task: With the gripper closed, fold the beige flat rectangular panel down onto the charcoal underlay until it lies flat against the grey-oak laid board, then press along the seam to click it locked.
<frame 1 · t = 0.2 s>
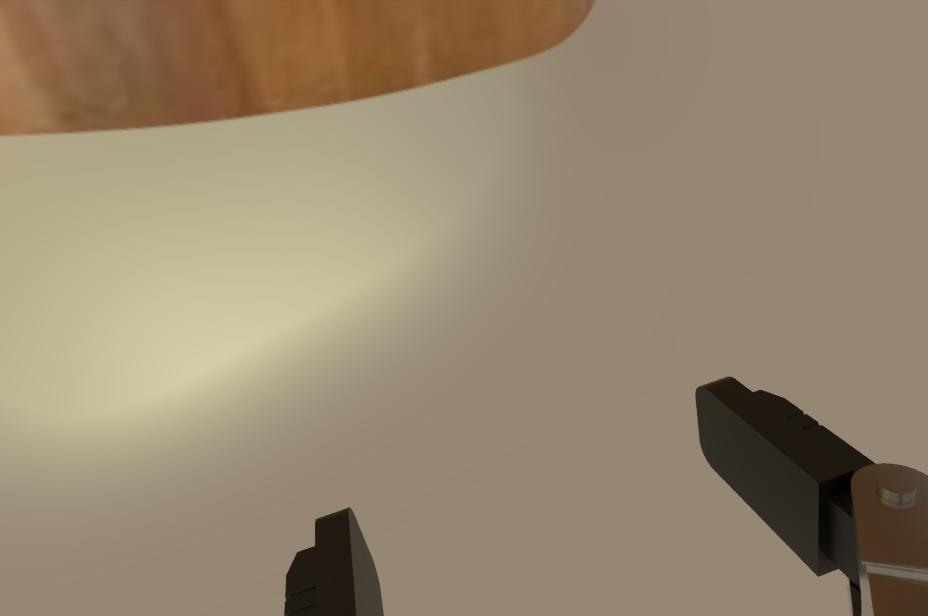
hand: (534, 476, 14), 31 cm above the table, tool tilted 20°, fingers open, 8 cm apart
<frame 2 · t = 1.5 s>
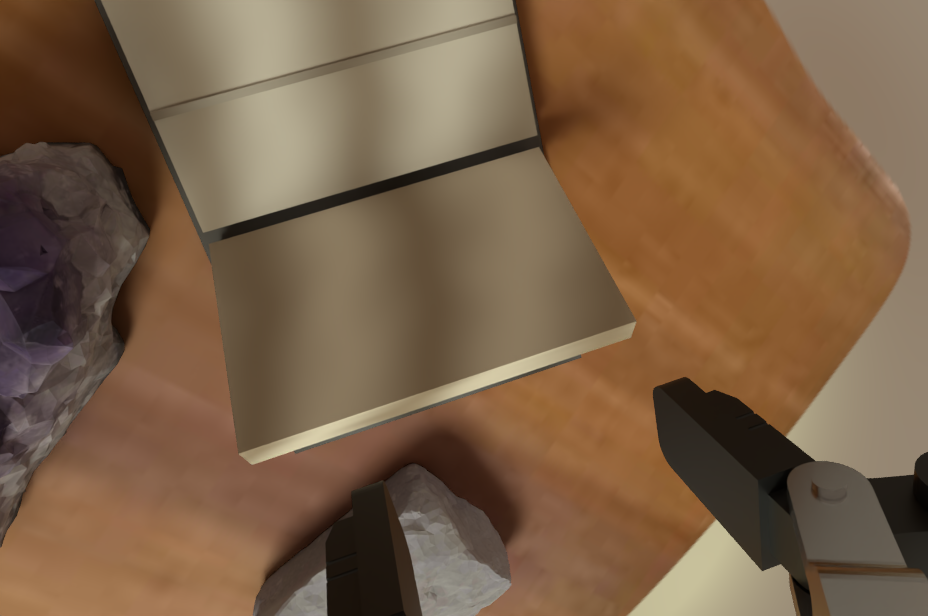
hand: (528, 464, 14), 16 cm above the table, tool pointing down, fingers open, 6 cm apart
beige flat rectangular panel: (409, 285, 24), point 5 cm above the table, hinge at 55.0°
stone block: (391, 561, 35), on the table
laid floor: (338, 65, 24), on the table
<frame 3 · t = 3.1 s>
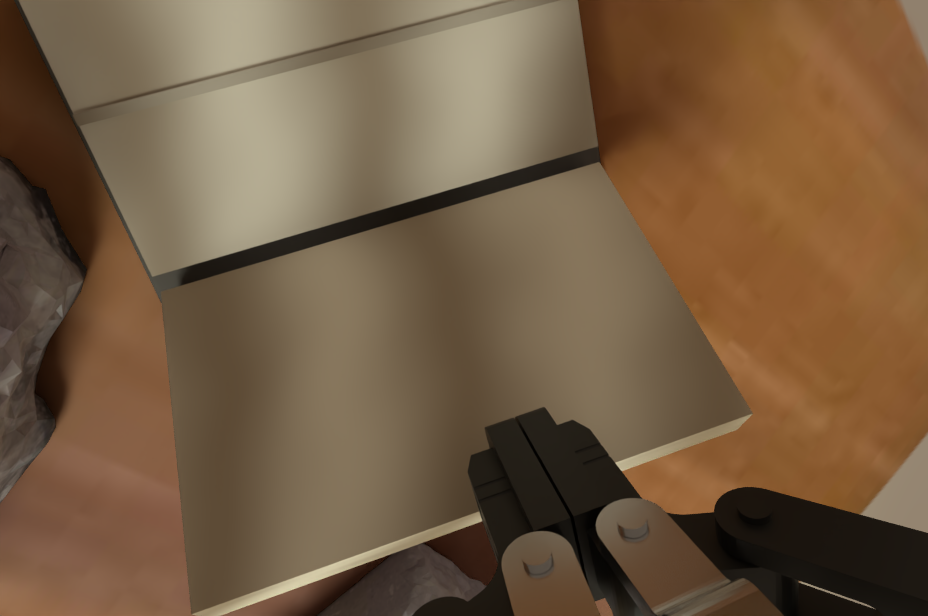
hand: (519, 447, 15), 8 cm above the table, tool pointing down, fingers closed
beige flat rectangular panel: (432, 352, 17), point 5 cm above the table, hinge at 54.1°, touching gripper
laid floor: (336, 52, 18), on the table
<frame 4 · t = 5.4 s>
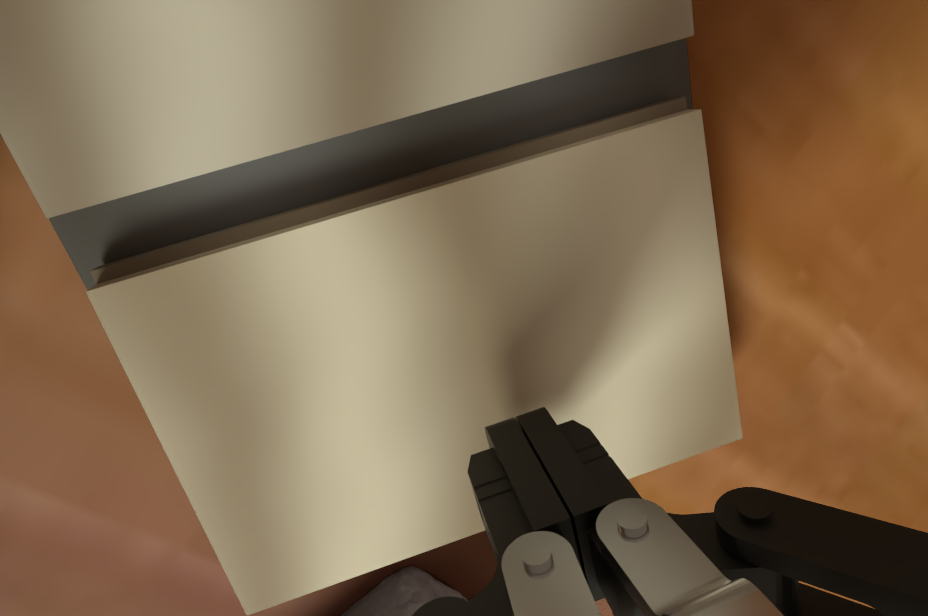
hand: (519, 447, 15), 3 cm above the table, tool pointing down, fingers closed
beige flat rectangular panel: (456, 361, 15), point 1 cm above the table, hinge at 4.8°
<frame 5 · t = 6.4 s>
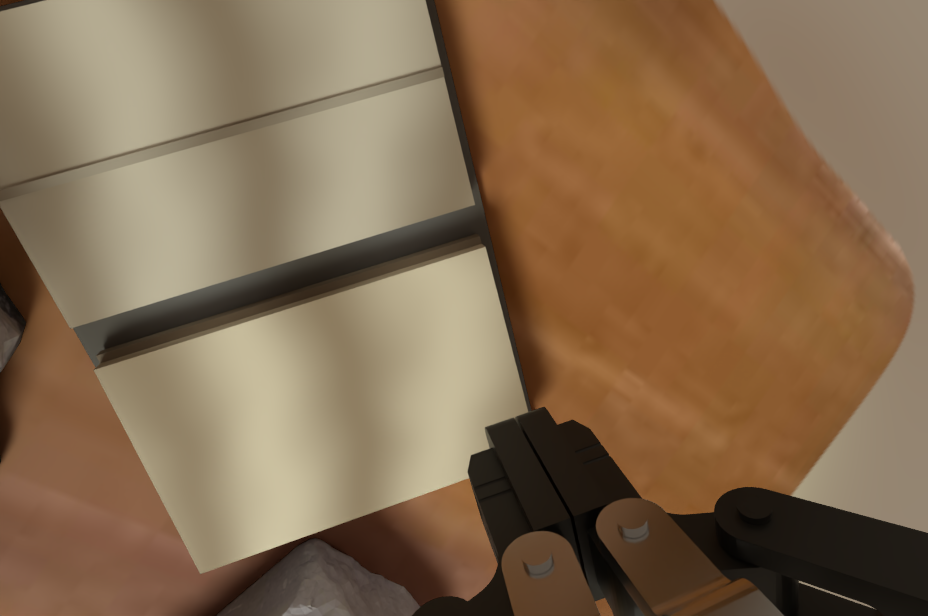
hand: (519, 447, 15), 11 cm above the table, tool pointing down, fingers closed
beige flat rectangular panel: (336, 405, 24), point 1 cm above the table, hinge at 4.8°
laid floor: (233, 127, 20), on the table
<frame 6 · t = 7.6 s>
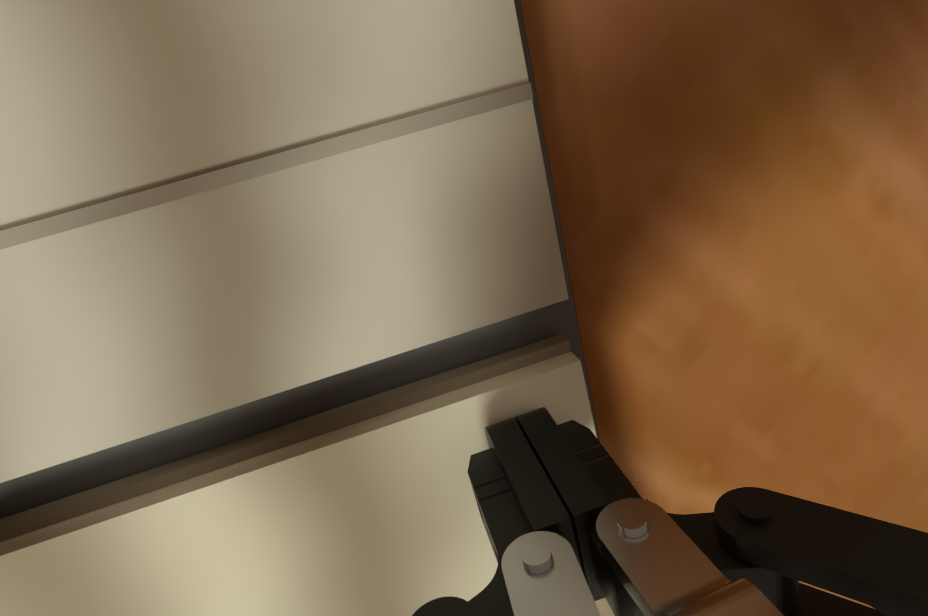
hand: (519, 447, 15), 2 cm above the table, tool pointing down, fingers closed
beige flat rectangular panel: (346, 590, 16), point 1 cm above the table, hinge at 4.8°, touching gripper
laid floor: (180, 178, 12), on the table
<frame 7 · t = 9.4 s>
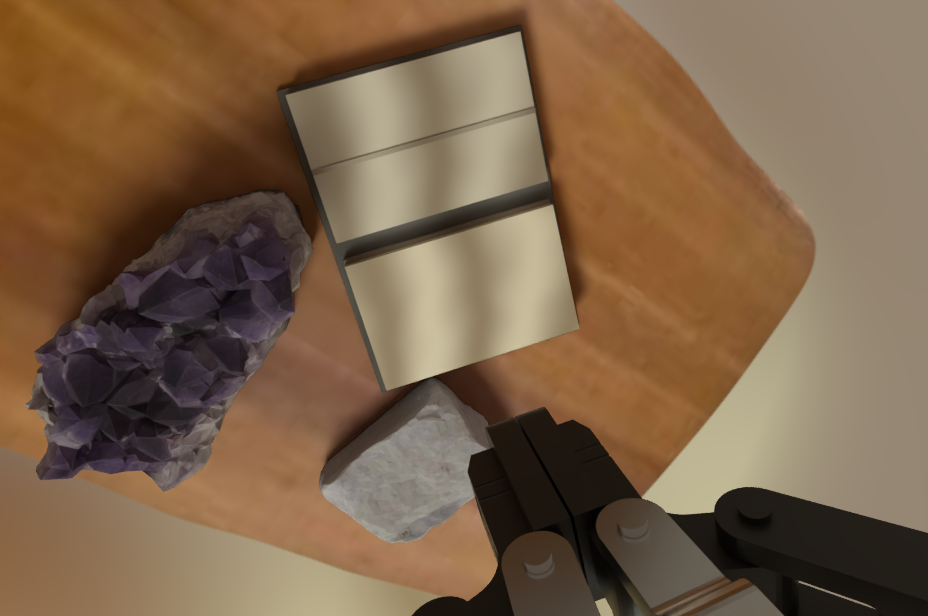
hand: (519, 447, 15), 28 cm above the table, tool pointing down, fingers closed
beige flat rectangular panel: (465, 295, 42), point 1 cm above the table, hinge at 4.8°
geode: (191, 310, 40), on the table
stone block: (416, 454, 48), on the table
laid floor: (422, 138, 39), on the table
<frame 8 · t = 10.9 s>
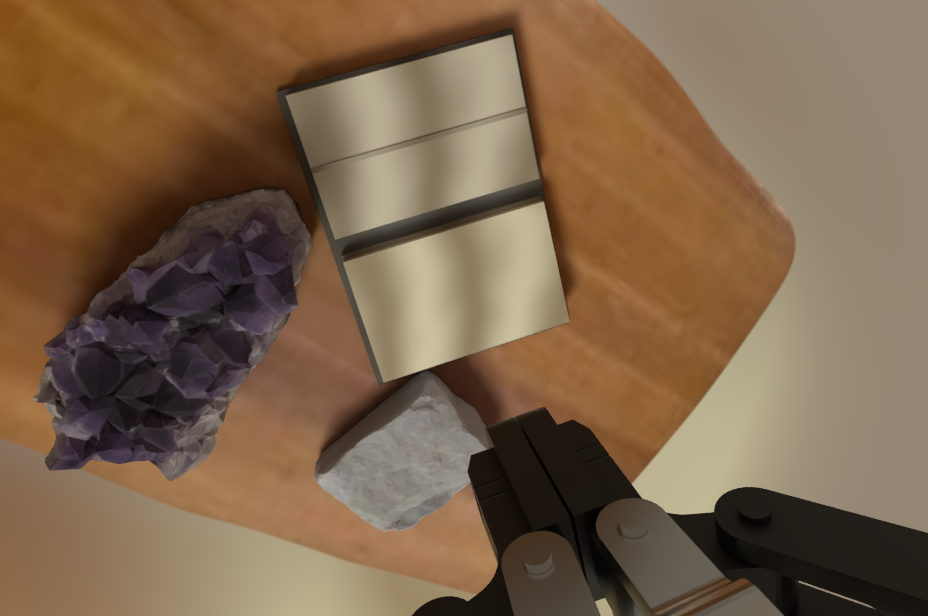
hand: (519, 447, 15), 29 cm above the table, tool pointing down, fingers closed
beige flat rectangular panel: (460, 289, 43), point 1 cm above the table, hinge at 4.8°
geode: (194, 305, 41), on the table
stone block: (409, 445, 49), on the table
laid floor: (417, 137, 40), on the table
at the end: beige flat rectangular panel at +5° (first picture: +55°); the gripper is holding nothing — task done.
